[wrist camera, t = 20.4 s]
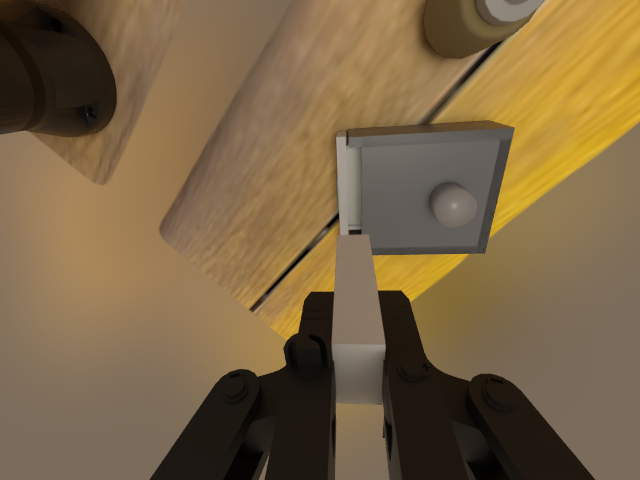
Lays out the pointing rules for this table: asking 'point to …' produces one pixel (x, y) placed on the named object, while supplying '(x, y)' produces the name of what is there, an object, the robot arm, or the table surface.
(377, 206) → the tray
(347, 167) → the tray
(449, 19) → the squeeze bottle
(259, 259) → the table surface
